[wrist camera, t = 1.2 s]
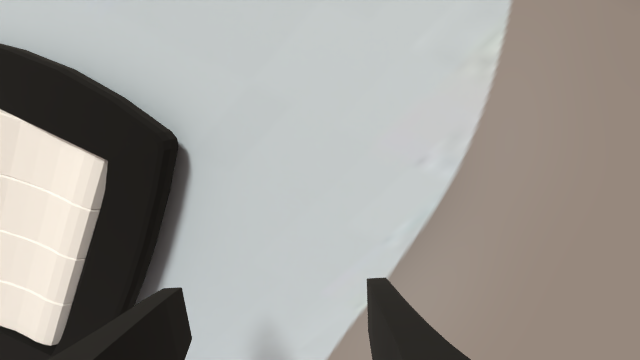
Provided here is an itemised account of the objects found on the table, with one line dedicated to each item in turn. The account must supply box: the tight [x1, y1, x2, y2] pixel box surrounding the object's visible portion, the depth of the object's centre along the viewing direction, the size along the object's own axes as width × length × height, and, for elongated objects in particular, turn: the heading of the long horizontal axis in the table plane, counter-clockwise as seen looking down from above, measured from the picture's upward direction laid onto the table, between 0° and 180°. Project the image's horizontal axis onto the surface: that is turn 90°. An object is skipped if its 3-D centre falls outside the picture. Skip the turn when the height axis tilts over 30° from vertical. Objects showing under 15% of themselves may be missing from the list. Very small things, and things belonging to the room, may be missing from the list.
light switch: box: [0, 44, 178, 360], centre depth 18 cm, size 20×3×14 cm
